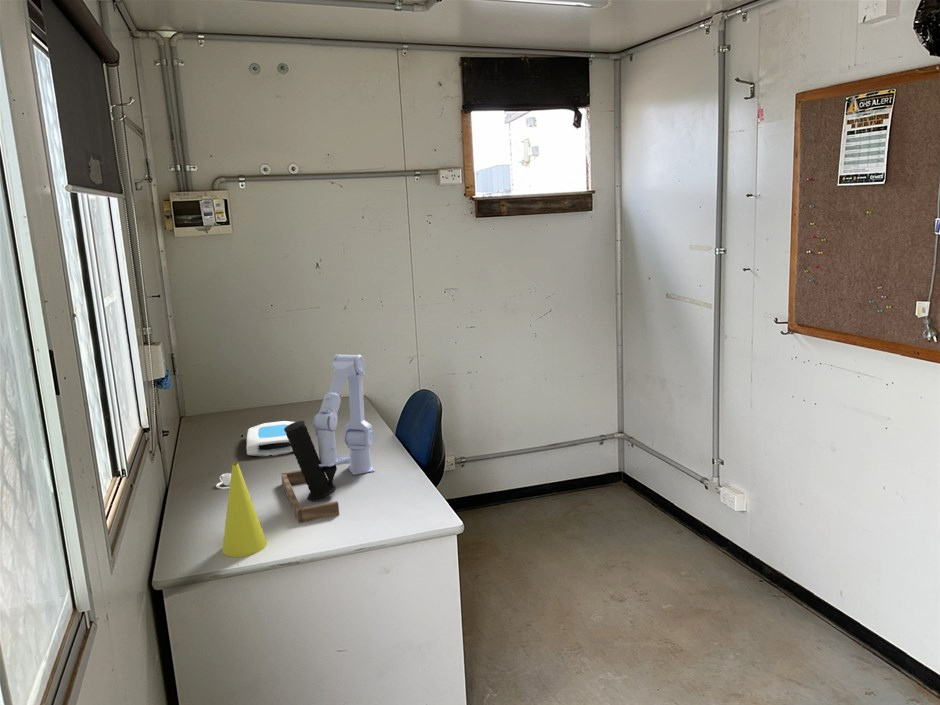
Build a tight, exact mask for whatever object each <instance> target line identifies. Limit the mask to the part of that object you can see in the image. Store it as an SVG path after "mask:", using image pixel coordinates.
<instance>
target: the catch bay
mask: <svg viewBox="0 0 940 705" xmlns="http://www.w3.org/2000/svg"><path fill="white" fill-rule="evenodd" d="M280 476H281V484H282V486H283V490H284V492H285V494H286V496H287V500H288V502H289V504H290V506H291V509H292V511H293V514H294V516H295V519H296V521H297V524H300V523H304V522H305V523H306V522H311V521H315V520H320V519H325V518H331V517H336V516H339V515H340V509H339V508H340V507H339V502H338V501H332V502H327V503H322V504H316V505H311V506H307V507H306V506H305V507H301V505H300V503H299V500H298V497H297V496H296V493H295V492H294V488H293V487H292V485H294V484H300V483H306V481H305V478H304V476H303V473H302V472H301V469H300V470H294V471H287V472H283V473H282V472H281V474H280Z"/></svg>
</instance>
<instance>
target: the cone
mask: <svg viewBox="0 0 940 705" xmlns="http://www.w3.org/2000/svg"><path fill="white" fill-rule="evenodd" d="M230 473H231V480H230V485H229V487H230V488H228V489H229V491H228V498H227V499H228V500H227V507H226V515H225V517H226V518H225V523H224V524H225V525H224V533H223V534H224V535H223V541H222V548H221V552H222V554H223V555H225V556H226V557H227V556H228V557H231V558H240V557H248V556H250V555H254V554H257V553H259V552H261V551H262V550H264V549H265V548H266V547H267V546H268V545H267V544H268V542H267V539H266V536H265V534H264V531H263V528H262V525H261V523H260V520H259V517H258V514H257V511H256V509H255V506H254V503H253V500H252V498H251V495H250V492H249V489H248V486H247V484H246V481H245V479H244V476H243V472H242V470H241V468H240V465H239V463H238V461H235V462H233V464H231V472H230Z"/></svg>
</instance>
